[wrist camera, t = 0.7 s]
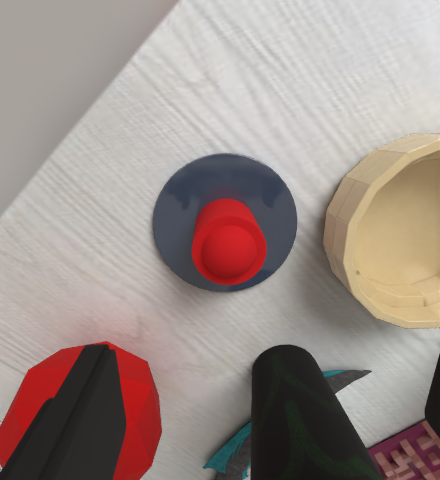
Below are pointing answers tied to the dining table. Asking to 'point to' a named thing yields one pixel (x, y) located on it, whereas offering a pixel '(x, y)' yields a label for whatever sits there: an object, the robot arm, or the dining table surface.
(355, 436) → the cup
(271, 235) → the dark grey coaster
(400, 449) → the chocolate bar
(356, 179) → the serving bowl
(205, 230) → the red cylinder
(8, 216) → the dining table surface
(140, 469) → the apple
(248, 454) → the knife
